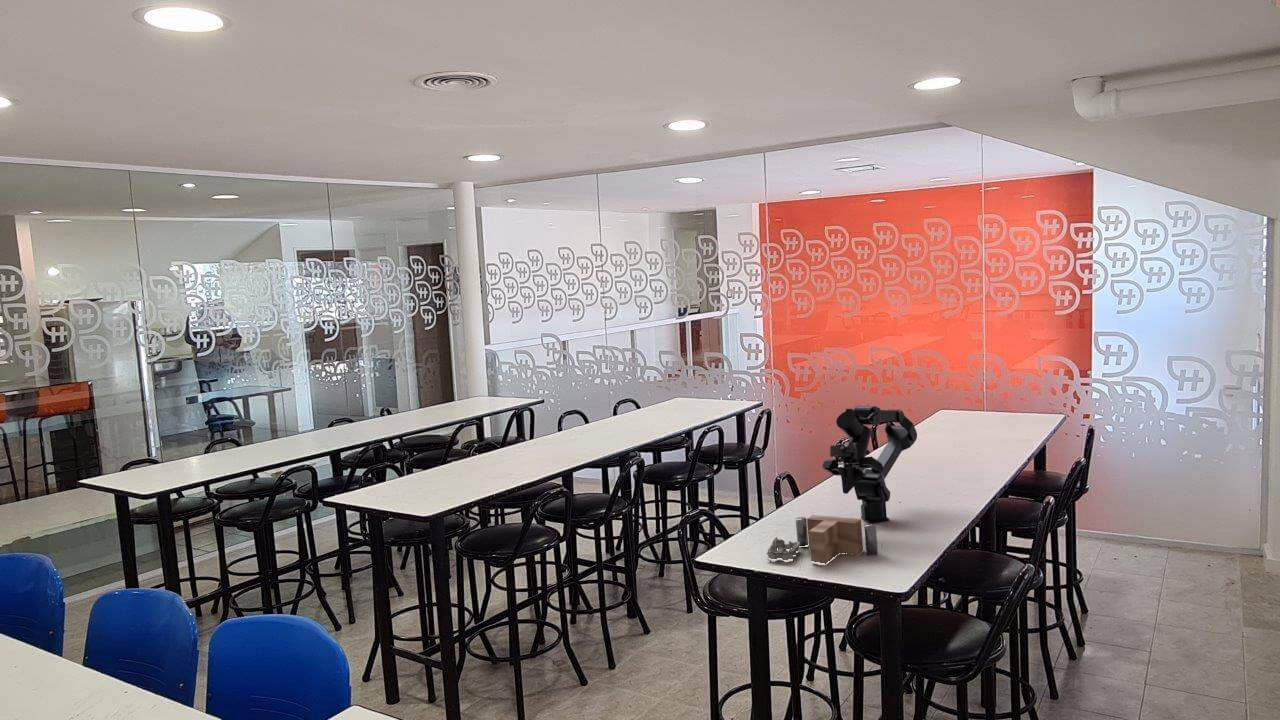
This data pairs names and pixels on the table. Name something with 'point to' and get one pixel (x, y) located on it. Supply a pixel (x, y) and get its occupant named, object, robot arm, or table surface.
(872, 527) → the goal posts
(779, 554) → the grey jagged rock
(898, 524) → the table surface
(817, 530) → the walnut T block
